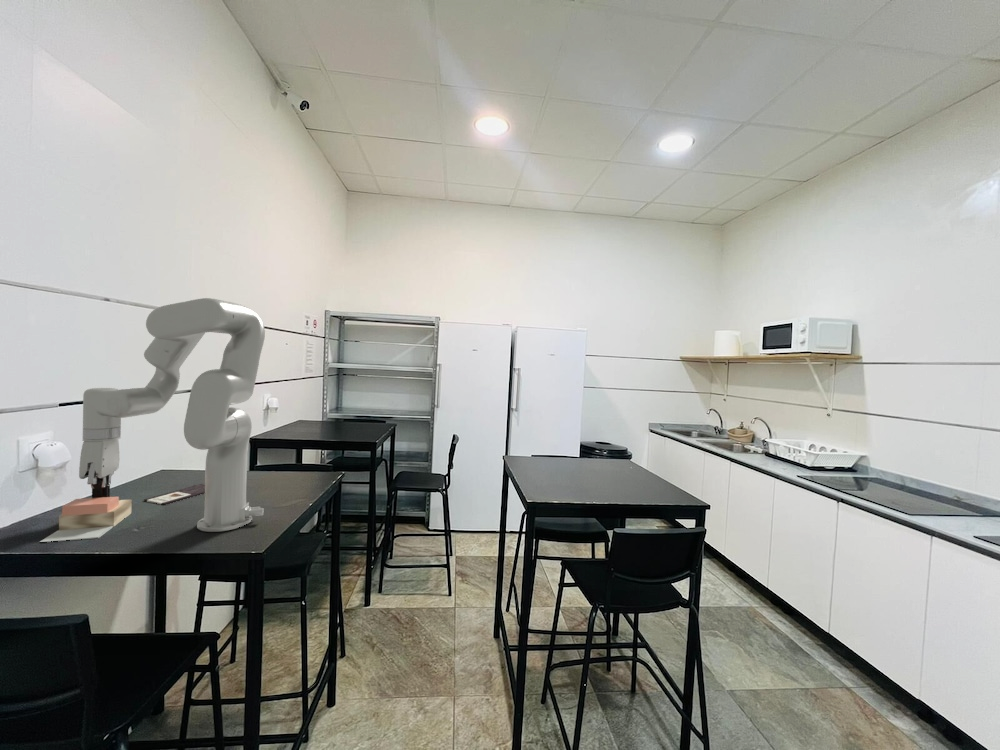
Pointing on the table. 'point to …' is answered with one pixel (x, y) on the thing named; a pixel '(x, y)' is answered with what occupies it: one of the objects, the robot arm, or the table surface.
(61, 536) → the mat
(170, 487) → the table surface
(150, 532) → the table surface
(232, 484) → the robot arm
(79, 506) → the pink rubber eraser
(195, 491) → the chocolate bar
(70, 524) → the wooden block
